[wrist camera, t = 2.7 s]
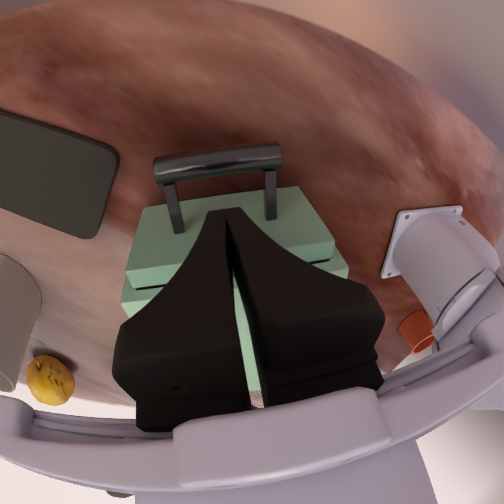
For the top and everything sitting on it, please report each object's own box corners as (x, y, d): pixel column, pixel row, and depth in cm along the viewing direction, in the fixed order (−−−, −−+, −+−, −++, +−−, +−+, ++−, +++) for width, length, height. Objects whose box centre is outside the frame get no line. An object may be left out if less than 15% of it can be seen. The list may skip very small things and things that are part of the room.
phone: (94, 244, 18) (-44, 189, 12) (97, 238, 19) (-39, 184, 12) (122, 153, 15) (-38, 103, 8) (125, 149, 15) (-31, 101, 9)
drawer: (127, 147, 15) (94, 192, 10) (298, 123, 16) (345, 157, 11) (180, 317, 25) (181, 378, 20) (292, 300, 26) (312, 357, 21)
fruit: (5, 371, 20) (34, 404, 25) (47, 397, 20) (72, 425, 26) (29, 331, 25) (51, 370, 31) (70, 351, 26) (87, 387, 32)
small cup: (428, 306, 34) (443, 329, 31) (417, 326, 37) (429, 348, 34) (404, 315, 34) (419, 339, 30) (394, 335, 37) (406, 358, 33)
